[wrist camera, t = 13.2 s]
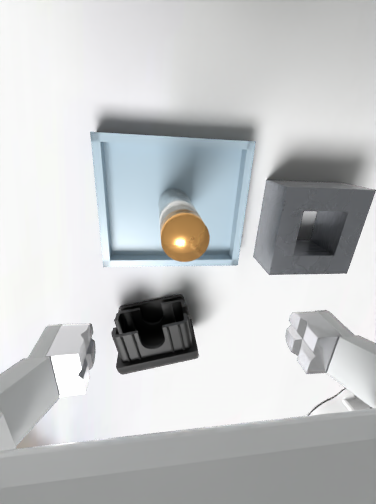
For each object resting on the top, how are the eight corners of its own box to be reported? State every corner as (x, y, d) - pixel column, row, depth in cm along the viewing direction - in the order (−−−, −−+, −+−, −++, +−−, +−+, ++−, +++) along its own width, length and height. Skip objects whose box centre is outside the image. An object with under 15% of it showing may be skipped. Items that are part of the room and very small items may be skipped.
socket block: (343, 182, 31) (376, 189, 26) (321, 256, 35) (346, 273, 30) (266, 179, 29) (287, 186, 25) (253, 256, 33) (269, 274, 29)
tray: (247, 141, 27) (255, 141, 25) (231, 256, 33) (237, 265, 31) (96, 132, 25) (90, 131, 23) (107, 257, 31) (103, 266, 29)
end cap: (127, 345, 37) (122, 385, 31) (114, 307, 34) (105, 343, 28) (193, 331, 37) (201, 368, 31) (186, 292, 34) (193, 325, 28)
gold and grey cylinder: (190, 189, 28) (211, 216, 18) (189, 220, 29) (207, 261, 19) (158, 187, 27) (161, 215, 17) (158, 219, 29) (160, 262, 19)
